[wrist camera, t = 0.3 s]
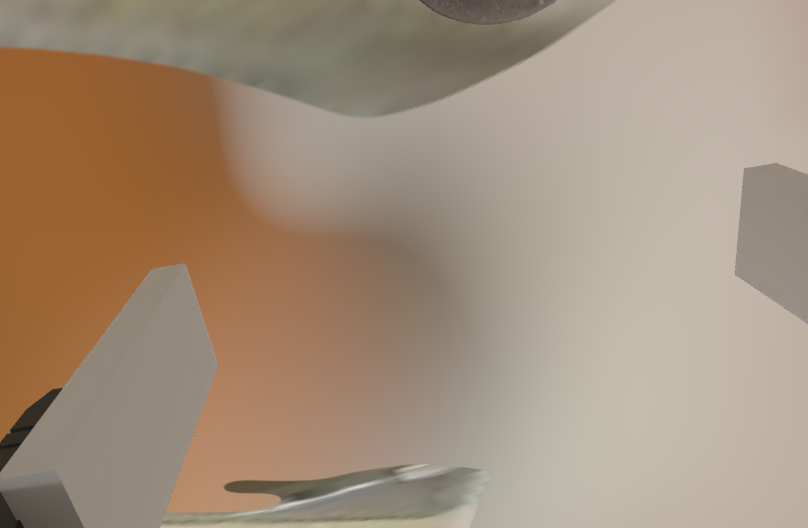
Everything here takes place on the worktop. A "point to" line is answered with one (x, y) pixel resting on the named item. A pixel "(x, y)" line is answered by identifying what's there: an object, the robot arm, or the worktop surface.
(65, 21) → the worktop surface
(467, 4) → the pillar candle
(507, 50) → the worktop surface
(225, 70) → the worktop surface
